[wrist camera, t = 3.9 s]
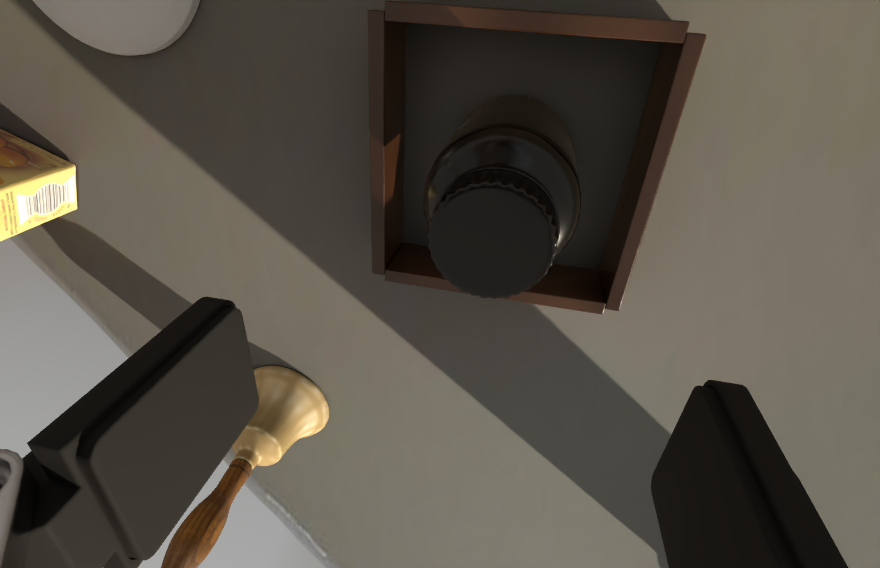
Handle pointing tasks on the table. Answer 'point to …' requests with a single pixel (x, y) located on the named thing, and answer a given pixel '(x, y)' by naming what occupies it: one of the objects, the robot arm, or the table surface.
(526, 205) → the supplement bottle
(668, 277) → the table surface
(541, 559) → the table surface
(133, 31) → the candlestick
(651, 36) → the walnut caddy
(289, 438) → the hand bell
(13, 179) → the candy box
